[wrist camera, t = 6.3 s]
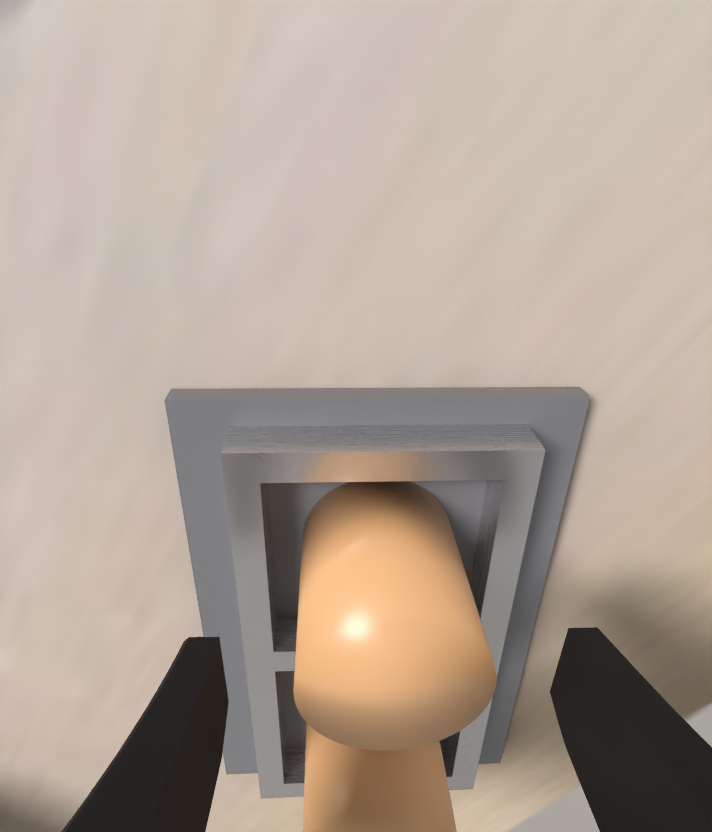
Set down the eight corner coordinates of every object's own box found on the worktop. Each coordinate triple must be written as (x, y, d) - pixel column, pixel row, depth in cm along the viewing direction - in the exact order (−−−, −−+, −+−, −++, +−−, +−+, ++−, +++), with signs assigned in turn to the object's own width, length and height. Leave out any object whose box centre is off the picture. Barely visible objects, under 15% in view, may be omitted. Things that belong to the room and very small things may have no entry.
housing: (579, 387, 13) (708, 517, 9) (495, 746, 20) (543, 920, 16) (171, 389, 13) (87, 528, 8) (229, 757, 20) (201, 939, 15)
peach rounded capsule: (460, 477, 14) (514, 618, 10) (439, 591, 16) (478, 749, 12) (303, 474, 13) (293, 618, 10) (301, 591, 15) (292, 751, 11)
